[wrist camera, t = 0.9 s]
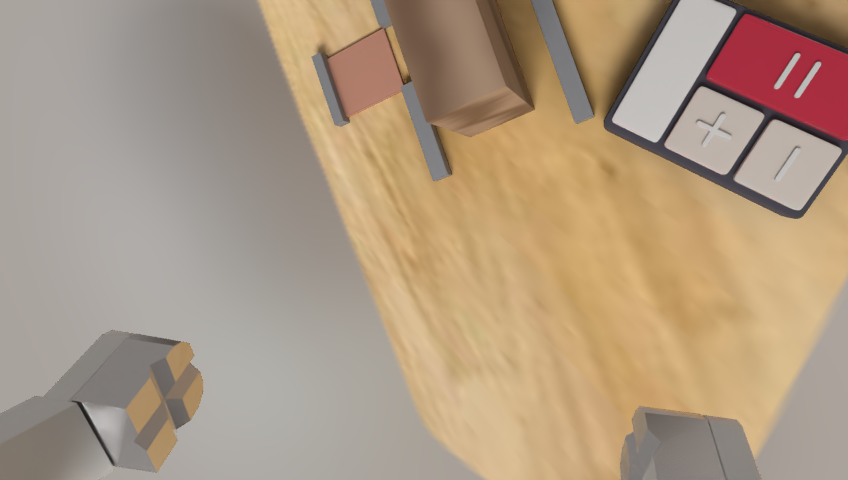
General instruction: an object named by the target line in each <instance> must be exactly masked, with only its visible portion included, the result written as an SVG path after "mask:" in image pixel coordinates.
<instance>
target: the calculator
mask: <svg viewBox="0 0 848 480" xmlns="http://www.w3.org/2000/svg"><path fill="white" fill-rule="evenodd" d="M604 128H605V129H606V130H607V131H609V132H611V133H613V134H615V135H617V136H619V137H621V138H623V139H625V140H627V141H629V142H631V143H633V144H635V145H637V146H639V147H641V148H643V149H645V150H648V151H650V152H652V153H654V154H657V155H659V156H661V157H663V158H665V159H667V160H669V161H671V162H673V163H675V164H677V165H679V166H681V167H683V168H685V169H687V170H689V171H691V172H693V173H695V174H697V175H699V176H701V177H703V178H705V179H707V180H709V181H712V182H714V183H716V184H718V185H720V186H722V187H724V188H726V189H728V190H730V191H732V192H734V193H736V194H738V195H740V196H742V197H744V198H746V199H748V200H750V201H752V202H754V203H756V204H758V205H760V206H763V207H765V208H767V209H769V210H771V211H773V212H775V213H777V214H779V215H781V216H785V217H789V218H794V219H798V218H801V217H802V216H803V215H804V214H805V213H806V211H807V210H808V208H809V207H810V206H811V204H812V203H813V201H814V200H815V199H816V197H817V196H818V194H819V193H820V192H821V190H822V189H823V187H824V186H825V185H826V183H827V182H828V180H829V179H830V178H831V176H832V175H833V173H834V172H835V171H836V169H837V168H838V166H839V165H840V163H841V162H842V161H843V159H844V158H845V156H846V155H847V154H848V49H847V48H844V47H842V46H839V45H837V44H834V43H832V42H829V41H827V40H825V39H822V38H820V37H817V36H815V35H812V34H810V33H807V32H805V31H802V30H800V29H798V28H795V27H793V26H790V25H788V24H785V23H783V22H780V21H778V20H775V19H773V18H771V17H768V16H766V15H763V14H761V13H758V12H756V11H753V10H751V9H748V8H746V7H744V6H741V5H739V4H736V3H734V2H731V1H729V0H673V1H672V3H671V4H670V6H669V8H668V10H667V11H666V13H665V15H664V17H663V18H662V20H661V22H660V24H659V25H658V27H657V29H656V30H655V32H654V34H653V36H652V37H651V39H650V41H649V43H648V44H647V46H646V48H645V50H644V51H643V53H642V55H641V57H640V58H639V60H638V62H637V64H636V65H635V67H634V69H633V70H632V72H631V74H630V76H629V77H628V79H627V81H626V83H625V84H624V86H623V88H622V90H621V91H620V93H619V95H618V97H617V98H616V100H615V102H614V104H613V105H612V107H611V109H610V111H609V112H608V114H607V116H606V118H605V120H604Z"/></svg>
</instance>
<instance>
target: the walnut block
mask: <svg viewBox="0 0 848 480" xmlns="http://www.w3.org/2000/svg"><path fill="white" fill-rule="evenodd" d="M384 3H385V5H386V8H387V11H388V14H389V17H390V20H391V23H392V26H393V28H394V31H395V34H396V37H397V40H398V43H399V46H400V48H401V51H402V54H403V57H404V60H405V63H406V66H407V69H408V71H409V74H410V77H411V80H412V83H413V86H414V89H415V92H416V94H417V97H418V100H419V103H420V106H421V109H422V112H423V114H424V117H425V120H426V122H427V123H430V124H433V125H436V126H439V127H442V128H445V129H448V130H451V131H454V132H457V133H460V134H462V135H465V136H468V137H472V136H475V135H477V134H479V133H482V132H484V131H486V130H489V129H491V128H493V127H496V126H498V125H500V124H503V123H505V122H507V121H510V120H512V119H514V118H517V117H519V116H521V115H524V114H526V113H528V112H531V111H533V110H535V109H534V106H533V103H532V101H531V98H530V95H529V92H528V89H527V87H526V84H525V81H524V78H523V75H522V73H521V70H520V67H519V64H518V61H517V59H516V56H515V53H514V50H513V47H512V45H511V42H510V39H509V36H508V34H507V31H506V28H505V25H504V22H503V20H502V17H501V14H500V11H499V8H498V6H497V3H496V0H384Z"/></svg>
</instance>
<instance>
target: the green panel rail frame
mask: <svg viewBox="0 0 848 480" xmlns="http://www.w3.org/2000/svg"><path fill="white" fill-rule="evenodd" d="M370 1H371V4H372V6H373V9H374V12H375V15H376V18H377V21H378V24H379V26H381V27H382V28H383V29H381V30H379V31H377V32H375V33H374V34H372V35H370V36H368V37H366V38H364V39H363V40H361V41H359V42H357V43H355V44H354V45H352V46H350V47H348V48H346V49H345V50H343V51H341V52H339V53H337V54H335V55H334V56H332V57H330V58H327V55H325V54H323V53H321V52H320V53H318V54H316V55H314V56H312V59H313V62H314V65H315V68H316V71H317V74H318V77H319V80H320V83H321V86H322V89H323V92H324V95H325V98H326V101H327V104H328V106H329V109H330V112H331V115H332V118H333V121H334V124H335V125H336V126H343V125H346V124H348V123H350V122H349V119H348V117H350V116H352V115H354V114H356V113H358V112H361V111H363V110H365V109H367V108H369V107H371V106H373V105H375V104H377V103H379V102H381V101H383V100H385V99H387V98H389V97H391V96H393V95H395V94H397V93H399V92H401V91H402V93H403V96H404V99H405V102H406V104H407V107H408V110H409V113H410V116H411V119H412V122H413V125H414V127H415V130H416V133H417V136H418V139H419V142H420V145H421V148H422V151H423V153H424V156H425V159H426V162H427V165H428V168H429V171H430V174H431V176H432V179H433V181H438V180H441V179H443V178H446V177H448V176H451V175H452V173H451V170H450V167H449V164H448V162H447V159H446V156H445V153H444V150H443V147H442V144H441V142H440V139H439V136H438V133H437V130H436V127H435V125H433V124H430V123H427V122H426V120H425V117H424V114H423V112H422V109H421V106H420V103H419V100H418V97H417V94H416V92H415V89H414V86H413V83H412V81H411V82H409V83H407V84H405V85H404V83H403V80H402V77H401V74H400V71H399V69H398V66H397V63H396V60H395V57H394V54H393V51H392V48H391V45H390V43H389V40H388V37H387V34H386V31H385V29H386V28H387V27H389V26H391V25H392V23H391V20H390V17H389V14H388V11H387V8H386V5H385V3H384V0H370ZM531 2H532V5H533V8H534V11H535V13H536V16H537V19H538V22H539V24H540V27H541V30H542V33H543V35H544V38H545V41H546V44H547V46H548V49H549V52H550V55H551V58H552V60H553V63H554V66H555V69H556V71H557V74H558V77H559V80H560V82H561V85H562V88H563V91H564V94H565V96H566V99H567V102H568V105H569V107H570V110H571V113H572V116H573V118H574V121H575V123H576V124H578V123H581V122H583V121H586V120H588V119H591V118H593V117H594V114H593V111H592V109H591V106H590V103H589V100H588V98H587V95H586V92H585V89H584V87H583V84H582V81H581V78H580V76H579V73H578V70H577V67H576V65H575V62H574V59H573V56H572V54H571V51H570V48H569V45H568V43H567V40H566V37H565V34H564V32H563V29H562V26H561V23H560V21H559V18H558V15H557V12H556V10H555V7H554V4H553V1H552V0H531Z"/></svg>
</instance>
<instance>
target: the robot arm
mask: <svg viewBox="0 0 848 480" xmlns="http://www.w3.org/2000/svg"><path fill="white" fill-rule="evenodd" d="M193 357H194V354H193V351H192V349H191V346H190V344H189V343H186V342H181V341H175V340H169V339H164V338H157V337H152V336H146V335H141V334H134V333H128V332H121V331H115V330H111V331H109V332H107V333H105V334H102V335H101V336H100V337H99V339H98V340H97V341H96V342H95V343H94V344H93V345H92V346H91V347H90V348H89V349H88V350H87V351H86V352H85V353H84V355H82V356H81V357H80V359H79V360H78V361H77V362H76V363H75V364H74V365H73V366H72V367H71V368H70V369H69V370H68V371H67V372H66V373H65V374H64V376H62V377H61V379H60V380H59V381H58V382H57V383H56V384H55V385H54V386H53V387H52V388H51V389H50V390H49V391H48V392H47V393H46V394H45V395H44V396H43V397H40V396H34V397H32V398H30V399H28V400H26V401H25V402H22V403H20V404H18V405H16V406H14V407H12V408H10V409H9V410H6V411H4V412H3V413H1V414H0V480H100V479H102V478H103V477H104V476H106V475H107V474H108V473H110V472H111V471H112V470H114V467H113V466H116V467H123V468H129V469H136V470H142V471H149V472H155V473H157V472H158V471H159V469H160V467H161V466H162V464H163V463H164V461H165V460H166V458H167V457H168V455H169V453H170V452H171V450H172V449H173V447H174V446H175V444H176V442H177V429H178V428H179V427H181V426H182V425H184V424H186V423H187V422H189V421H190V420H191V419H192V417H193V415H194V414H195V412H196V410H197V409H198V407H199V404H200V401H201V397H202V394H203V379H202V376H201V373H200V371H199V370H198V369H196V368H195V367H194V366H193V365H192V364H191V363H190V361H191V360H192V358H193ZM632 424H633V430H634V432H632V433H631V434H629V435H627V436H626V437H625V441H624V444H623V447H622V453H621V462H620V471H621V480H762V478H761V475H760V473H759V470H758V467H757V465H756V462H755V459H754V457H753V454H752V451H751V449H750V446H749V443H748V440H747V438H746V435H745V432H744V430H743V427H742V425H741V424H740V423H739V422H738V421H737V420H734V419H727V418H720V417H713V416H706V415H701V414H696V413H688V412H680V411H673V410H665V409H657V408H650V407H642V406H639V407H638V408H637V409H636V410H635V413H634V416H633V418H632Z"/></svg>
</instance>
